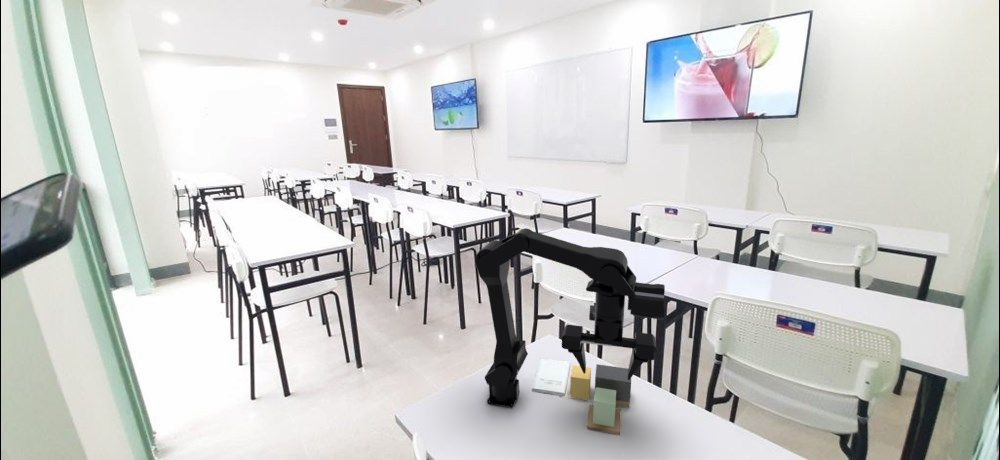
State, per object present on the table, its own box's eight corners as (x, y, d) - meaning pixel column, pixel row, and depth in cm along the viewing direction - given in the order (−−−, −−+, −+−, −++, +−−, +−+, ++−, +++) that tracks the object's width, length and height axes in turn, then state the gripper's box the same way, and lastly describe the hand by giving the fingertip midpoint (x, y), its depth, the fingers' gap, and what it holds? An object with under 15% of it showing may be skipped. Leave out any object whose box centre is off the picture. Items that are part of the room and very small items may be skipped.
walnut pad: (586, 429, 89) (587, 426, 89) (589, 407, 95) (589, 404, 95) (620, 435, 87) (620, 432, 87) (620, 412, 93) (620, 409, 93)
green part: (592, 423, 90) (593, 400, 88) (594, 408, 94) (595, 387, 92) (614, 427, 88) (615, 404, 86) (614, 412, 92) (616, 390, 91)
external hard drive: (570, 367, 111) (564, 398, 99) (540, 363, 113) (531, 392, 101) (570, 362, 110) (564, 392, 99) (540, 358, 112) (531, 387, 101)
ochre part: (570, 397, 99) (570, 376, 97) (572, 385, 103) (572, 365, 101) (589, 400, 98) (589, 379, 96) (590, 388, 102) (591, 367, 100)
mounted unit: (594, 401, 97) (595, 377, 95) (595, 387, 102) (596, 363, 100) (629, 407, 95) (631, 382, 93) (629, 392, 100) (630, 368, 97)
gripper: (655, 297, 88) (649, 359, 93) (568, 289, 93) (567, 348, 98) (659, 323, 78) (653, 391, 82) (561, 313, 83) (561, 378, 87)
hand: (606, 375), depth 88 cm, fingers open, 9 cm apart
